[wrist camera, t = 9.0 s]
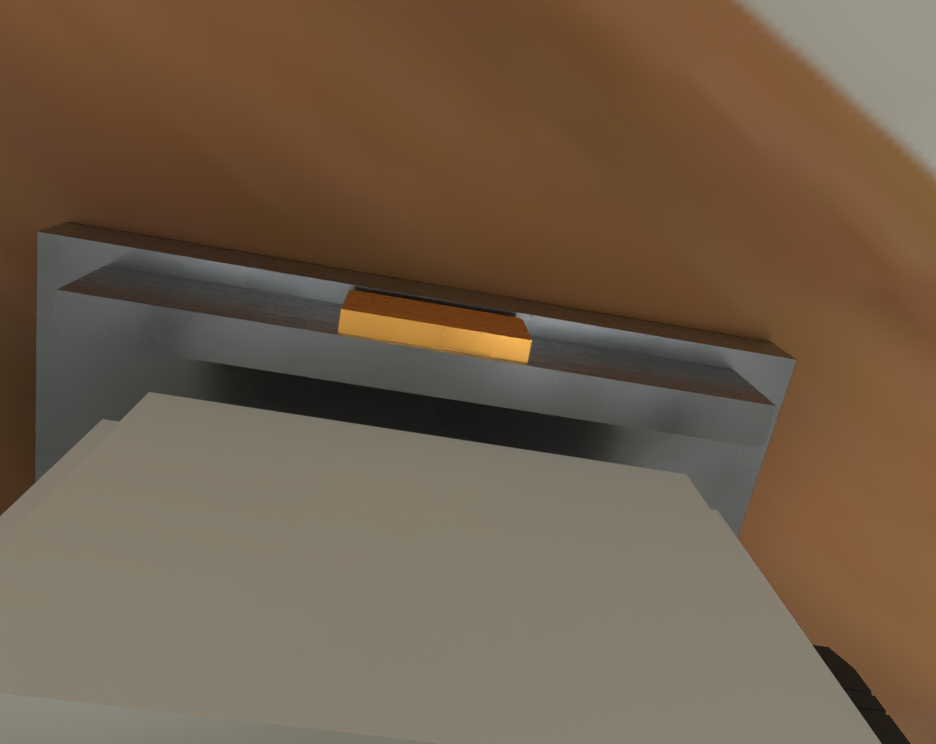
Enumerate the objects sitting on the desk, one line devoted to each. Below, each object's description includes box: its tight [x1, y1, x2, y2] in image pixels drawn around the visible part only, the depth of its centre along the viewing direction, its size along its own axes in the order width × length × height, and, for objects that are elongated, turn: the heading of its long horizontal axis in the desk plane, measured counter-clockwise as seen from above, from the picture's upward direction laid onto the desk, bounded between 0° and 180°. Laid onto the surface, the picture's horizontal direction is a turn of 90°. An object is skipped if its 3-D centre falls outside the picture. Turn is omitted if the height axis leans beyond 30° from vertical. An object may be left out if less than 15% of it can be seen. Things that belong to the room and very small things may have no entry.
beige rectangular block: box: [0, 392, 871, 744], centre depth 12 cm, size 11×4×8 cm, turn 79°
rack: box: [35, 222, 796, 537], centre depth 16 cm, size 18×15×12 cm
